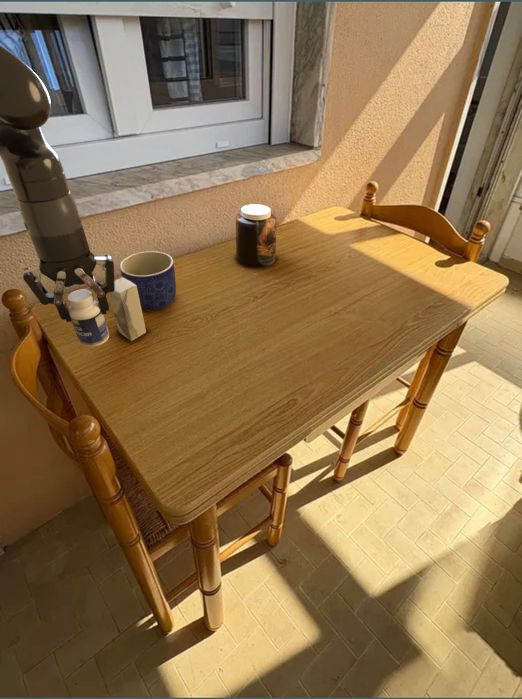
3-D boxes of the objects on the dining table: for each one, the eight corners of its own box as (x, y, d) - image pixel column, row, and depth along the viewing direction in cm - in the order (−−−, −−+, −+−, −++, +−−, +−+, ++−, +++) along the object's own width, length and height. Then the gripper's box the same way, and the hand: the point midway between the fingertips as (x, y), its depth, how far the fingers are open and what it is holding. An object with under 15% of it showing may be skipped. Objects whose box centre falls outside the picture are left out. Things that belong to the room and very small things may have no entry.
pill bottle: (74, 347, 70) (56, 302, 64) (87, 329, 74) (71, 285, 68) (102, 349, 70) (87, 305, 63) (114, 331, 74) (101, 287, 67)
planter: (175, 315, 93) (168, 276, 85) (123, 315, 92) (113, 276, 85) (182, 288, 102) (176, 251, 95) (135, 288, 102) (126, 250, 95)
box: (118, 332, 87) (104, 284, 79) (134, 323, 90) (122, 275, 81) (132, 342, 85) (119, 293, 76) (148, 332, 87) (137, 284, 79)
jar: (234, 267, 111) (232, 216, 101) (238, 249, 120) (237, 201, 110) (274, 268, 111) (276, 218, 101) (275, 250, 120) (277, 202, 110)
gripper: (101, 209, 62) (124, 296, 73) (2, 222, 58) (43, 313, 69) (107, 226, 57) (130, 318, 68) (-2, 242, 53) (43, 337, 64)
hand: (86, 315), depth 68 cm, fingers closed on pill bottle, 5 cm apart
